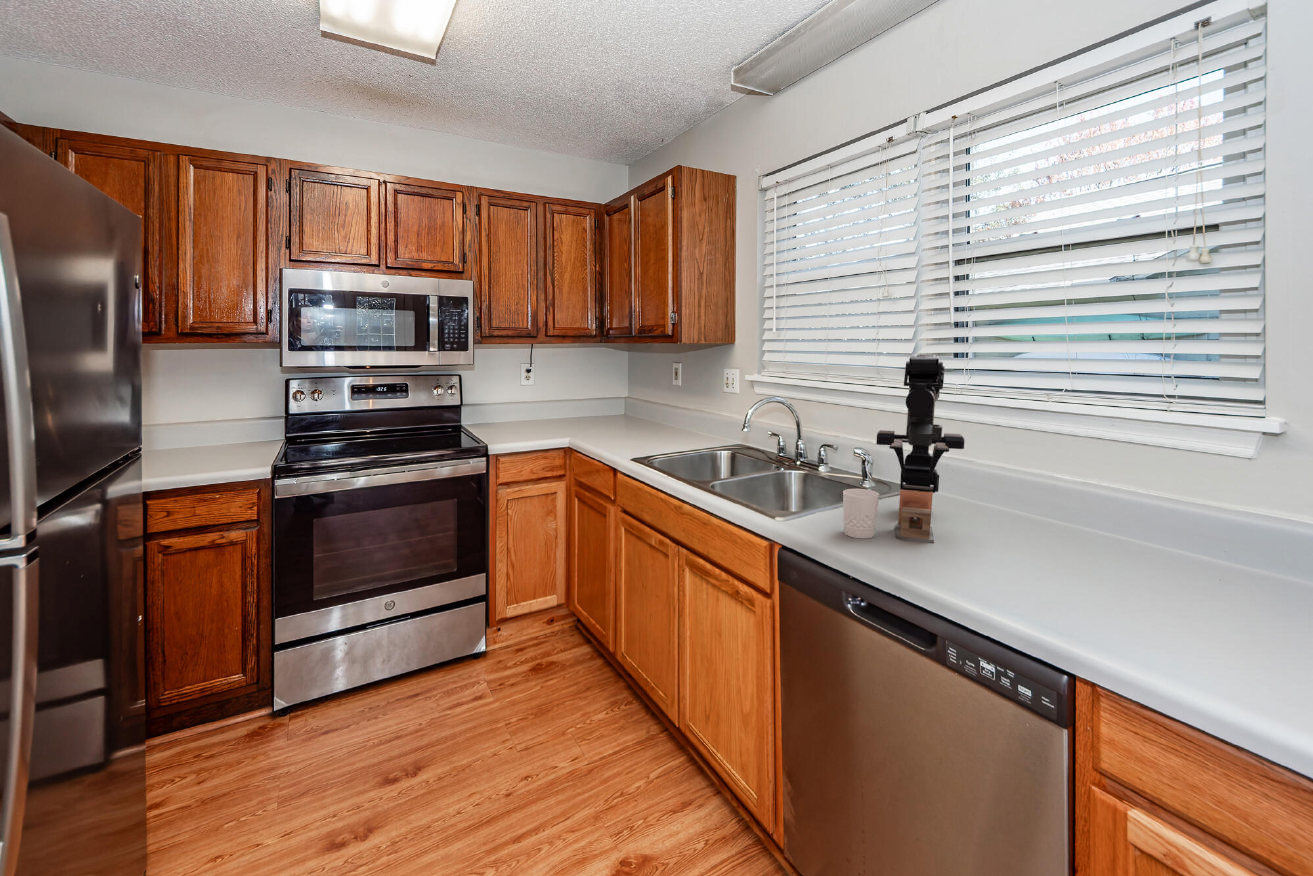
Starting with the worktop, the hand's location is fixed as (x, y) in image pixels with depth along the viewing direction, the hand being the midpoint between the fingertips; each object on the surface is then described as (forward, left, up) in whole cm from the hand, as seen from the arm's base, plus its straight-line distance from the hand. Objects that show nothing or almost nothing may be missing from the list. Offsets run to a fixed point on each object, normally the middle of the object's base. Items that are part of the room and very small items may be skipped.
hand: (916, 475), depth 139 cm
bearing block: (+5, 0, -13) cm, 14 cm away
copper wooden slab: (+5, 0, -12) cm, 13 cm away
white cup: (+10, -12, -13) cm, 20 cm away
